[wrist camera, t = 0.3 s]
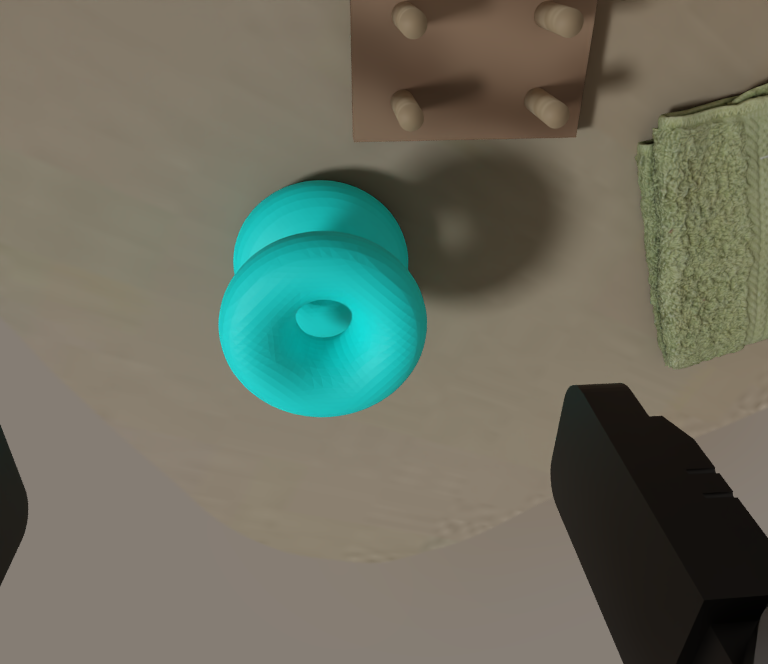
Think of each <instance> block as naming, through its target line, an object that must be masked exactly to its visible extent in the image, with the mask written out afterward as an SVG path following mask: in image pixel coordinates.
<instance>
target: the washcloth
mask: <svg viewBox="0 0 768 664" xmlns="http://www.w3.org/2000/svg"><path fill="white" fill-rule="evenodd" d="M652 130H653V133H652V135H653V139H651V140H649V141H643V142H639V143H638V147H637V156H635V160H636V161H637V166H638V177H639V180H638V184H639V186H640V190H641V197H642V199H641V201H640V204H641V205H640V207H641V212H642V217H643V221H644V228H645V230H644V232H645V234H644V243H645V250H646V258H647V259H646V262H647V264H648V268H649V271H648V272H649V278H648V281H649V284H650V285H651V287H650V288H651V290H650V295H651V296H650V300H651V304H652V305H654V307H653V308H654V310H653V313H654V316H655V318H654V322H655V323H654V324H655V325H656V328H657V332H658V333H657V335H658V337H657V341H658V345H659V348H660V350H661V351H662V353H663V358H664V362H665V363H666V364H665V366H667V365H668V366H669V368H670V367H672V368H673V369H682V368H686V367H689V366H692V365H694V364H699V363H700V362H702V361H708V360H711V359H713V358H714V357H715V356H716V357H721V356H722V355H725V354H727V353H735V352H737V351H740V350H741V349H743V348H744V346H745V345H747V344H752V343H756V342H758V341H762V340H766V339H768V83H767V84H764V85H762V86H759V87H756V88H753V89H751V90H749V91H746V92H745V93H743V94H742V95H739V96H734V97H730V98H725V99H722V100H718V101H715V102H712V103H709V104H705V105H701V106H698V107H694V108H692V109H688V110H683V111H678V112H673V113H667V114H662V115H661V116H660V117H659V119H658V128H653V129H652Z"/></svg>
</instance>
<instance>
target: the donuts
mask: <svg viewBox="0 0 768 664" xmlns="http://www.w3.org/2000/svg"><path fill="white" fill-rule="evenodd" d="M233 264H234V274H235V275H234V277H233V278H232V280H231V281H230V283H229V285H228V287H227V289H226V291H225V294H224V297H223V300H222V304H221V308H220V314H219V336H220V342H221V346H222V350H223V353H224V356H225V358H226V360H227V362H228V365H229V366H230V368H231V370H232V371H233V373H234V374H235V376H236V377H237V378H238V379H239V381H240V382H241V383H242V384H243V385H244V386H245V387H246V388H247V389H248V390H249V391H250V392H252V393H253V394H254V395H255V396H257V397H258V398H260V399H261V400H263V401H264V402H266V403H268V404H270V405H271V406H274V407H276V408H278V409H281V410H283V411H286V412H290V413H293V414H297V415H303V416H311V417H333V416H341V415H346V414H351V413H354V412H358V411H361V410H363V409H366V408H368V407H371V406H373V405H375V404H377V403H378V402H380V401H382V400H383V399H385V398H386V397H388V396H389V395H390V394H392V393H393V392H394V391H395V390H396V389H398V388H399V387H400V386H401V385H402V384H403V382H404V381H405V380H406V379H407V378H408V376H409V375H410V374H411V372H412V371H413V369H414V368H415V366H416V364H417V362H418V360H419V358H420V356H421V353H422V350H423V347H424V343H425V338H426V332H427V315H426V308H425V304H424V300H423V297H422V294H421V291H420V289H419V287H418V285H417V283H416V281H415V279H414V278H413V276H412V275H411V273H410V272H409V271H408V251H407V246H406V242H405V239H404V236H403V233H402V231H401V228H400V226H399V225H398V223H397V221H396V220H395V218H394V217H393V215H392V214H391V213H390V211H389V210H388V209H387V208H386V207H385V206H384V205H383V204H382V203H381V202H379V201H378V200H377V199H376V198H374V197H373V196H371V195H370V194H368V193H367V192H365V191H363V190H361V189H359V188H357V187H354V186H351V185H349V184H345V183H341V182H336V181H328V180H313V181H305V182H300V183H296V184H292V185H289V186H287V187H284V188H282V189H280V190H278V191H276V192H274V193H273V194H271V195H270V196H268V197H267V198H265V199H264V200H263V201H262V202H261V203H259V204H258V205H257V206H256V207H255V208H254V209H253V211H252V212H251V213H250V214H249V216H248V217H247V218H246V220H245V222H244V223H243V225H242V227H241V229H240V232H239V234H238V237H237V240H236V244H235V249H234V258H233Z"/></svg>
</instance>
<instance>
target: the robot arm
mask: <svg viewBox="0 0 768 664" xmlns="http://www.w3.org/2000/svg"><path fill="white" fill-rule="evenodd" d="M551 487H552V492H553V497H554V500H555V503H556V506H557V508H558V511H559V513H560V516H561V518H562V520H563V523H564V525H565V527H566V530H567V532H568V534H569V537H570V539H571V541H572V544H573V546H574V548H575V551H576V553H577V555H578V558H579V560H580V562H581V565H582V567H583V570H584V572H585V574H586V577H587V579H588V581H589V584H590V586H591V588H592V591H593V593H594V595H595V598H596V600H597V602H598V605H599V607H600V610H601V612H602V614H603V616H604V619H605V621H606V624H607V626H608V628H609V631H610V633H611V635H612V638H613V640H614V642H615V645H616V647H617V649H618V651H619V654H620V657H621V659H622V661H623V663H624V664H768V538H767V536H766V535H765V534H764V533H763V531H762V530H761V528H760V527H759V526H758V524H757V523H756V522H755V520H754V519H753V518H752V516H751V515H750V514H749V512H748V511H747V510H746V508H745V507H744V506H743V505H742V503H741V502H740V500H739V499H738V498H734V497H733V491H732V490H731V488H730V487H729V486H728V484H727V483H726V482H725V480H724V479H723V478H722V476H721V475H720V474H719V473H716V472H715V467H714V465H713V464H712V463H711V461H710V460H709V459H708V457H707V456H706V455H705V453H704V452H703V451H702V450H701V448H700V447H699V445H698V444H697V443H696V441H695V440H694V439H693V438H691V437H690V436H689V435H687V434H686V433H685V432H683V431H682V430H681V429H679V428H678V427H677V426H675V425H674V424H672V423H671V422H670V421H668V420H667V419H666V418H664V417H663V416H652V417H649V416H648V414H647V413H646V411H645V410H644V409H643V407H642V406H641V404H640V403H639V401H638V400H637V398H636V397H635V396H634V394H633V393H632V391H631V390H630V389H629V387H628V386H626V385H625V384H623V383H611V384H589V385H572V386H570V387H569V388H568V390H567V392H566V394H565V398H564V402H563V407H562V412H561V417H560V422H559V427H558V432H557V437H556V441H555V446H554V451H553V456H552V461H551ZM27 519H28V499H27V494H26V491H25V488H24V485H23V483H22V480H21V477H20V475H19V472H18V470H17V467H16V464H15V462H14V459H13V456H12V454H11V451H10V449H9V446H8V444H7V441H6V438H5V436H4V433H3V430H2V428H1V425H0V585H1V583H2V581H3V579H4V577H5V575H6V573H7V570H8V568H9V566H10V564H11V562H12V560H13V557H14V555H15V553H16V551H17V549H18V547H19V545H20V542H21V541H22V538H23V536H24V533H25V529H26V525H27Z"/></svg>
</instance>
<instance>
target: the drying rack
mask: <svg viewBox="0 0 768 664" xmlns="http://www.w3.org/2000/svg"><path fill="white" fill-rule="evenodd" d="M597 1H598V0H350V13H351V63H352V113H353V139H354V142H382V141H428V140H474V139H520V138H566V137H576V133H577V127H578V121H579V115H580V108H581V102H582V96H583V89H584V83H585V77H586V71H587V64H588V58H589V52H590V45H591V39H592V33H593V26H594V20H595V14H596V8H597Z"/></svg>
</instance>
